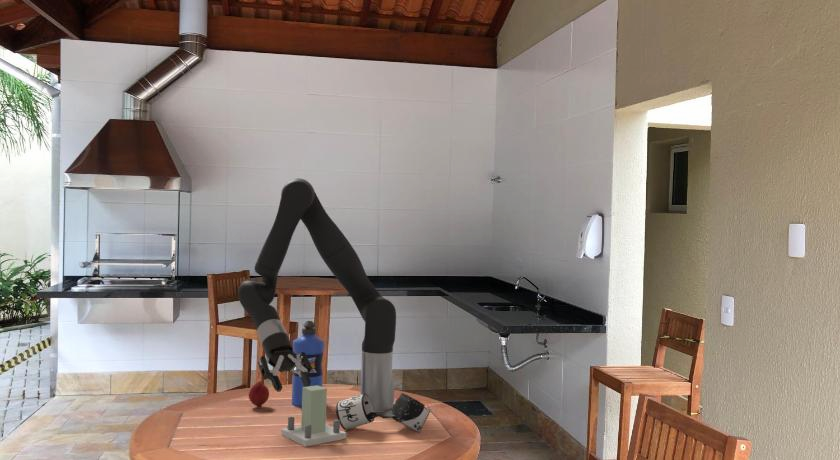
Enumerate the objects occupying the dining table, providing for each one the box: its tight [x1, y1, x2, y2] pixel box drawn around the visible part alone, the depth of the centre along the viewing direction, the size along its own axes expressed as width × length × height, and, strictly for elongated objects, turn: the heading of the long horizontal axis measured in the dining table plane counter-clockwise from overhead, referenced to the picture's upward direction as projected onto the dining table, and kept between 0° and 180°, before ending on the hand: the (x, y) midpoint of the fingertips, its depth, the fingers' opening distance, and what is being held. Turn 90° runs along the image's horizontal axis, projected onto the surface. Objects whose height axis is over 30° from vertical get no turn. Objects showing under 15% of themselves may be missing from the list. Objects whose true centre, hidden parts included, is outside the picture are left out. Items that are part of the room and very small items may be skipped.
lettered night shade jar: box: [335, 392, 431, 434], centre depth 196 cm, size 25×10×10 cm, turn 97°
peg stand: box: [280, 416, 347, 447], centre depth 189 cm, size 12×12×4 cm
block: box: [300, 385, 328, 434], centre depth 189 cm, size 4×4×11 cm
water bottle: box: [291, 320, 325, 408], centre depth 222 cm, size 9×9×25 cm
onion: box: [248, 379, 270, 408], centre depth 216 cm, size 6×6×8 cm
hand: (294, 388), depth 196 cm, fingers open, 8 cm apart
